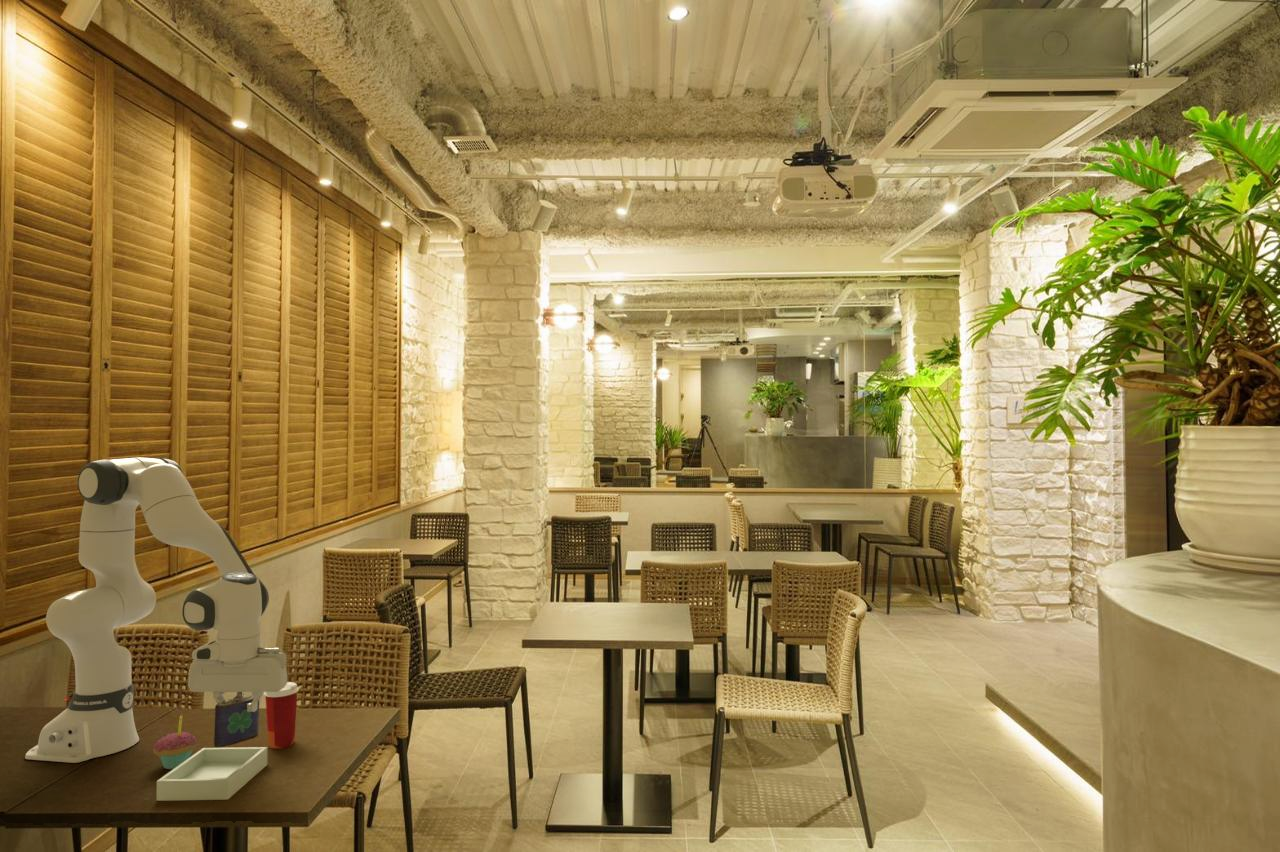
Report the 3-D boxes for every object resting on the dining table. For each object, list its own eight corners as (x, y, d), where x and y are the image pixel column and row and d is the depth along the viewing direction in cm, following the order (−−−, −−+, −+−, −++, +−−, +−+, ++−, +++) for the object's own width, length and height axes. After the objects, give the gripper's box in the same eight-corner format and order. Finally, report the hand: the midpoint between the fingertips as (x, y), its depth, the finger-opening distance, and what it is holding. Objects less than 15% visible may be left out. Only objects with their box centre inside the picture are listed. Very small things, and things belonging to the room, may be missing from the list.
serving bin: (156, 800, 153) (156, 781, 154) (203, 765, 170) (203, 748, 170) (227, 799, 154) (227, 779, 154) (267, 764, 170) (267, 746, 170)
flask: (255, 733, 169) (257, 685, 169) (261, 736, 167) (263, 688, 167) (211, 745, 161) (213, 695, 162) (217, 749, 160) (219, 699, 160)
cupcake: (205, 759, 173) (205, 707, 174) (172, 775, 165) (172, 720, 166) (178, 755, 176) (178, 704, 176) (143, 770, 168) (144, 716, 168)
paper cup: (305, 738, 185) (305, 681, 186) (287, 751, 178) (287, 691, 178) (275, 737, 186) (275, 681, 186) (256, 750, 178) (256, 691, 179)
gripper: (292, 644, 168) (291, 705, 168) (201, 643, 168) (200, 705, 167) (279, 652, 162) (278, 716, 161) (184, 651, 161) (183, 716, 161)
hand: (237, 711), depth 164 cm, fingers closed on flask, 5 cm apart
